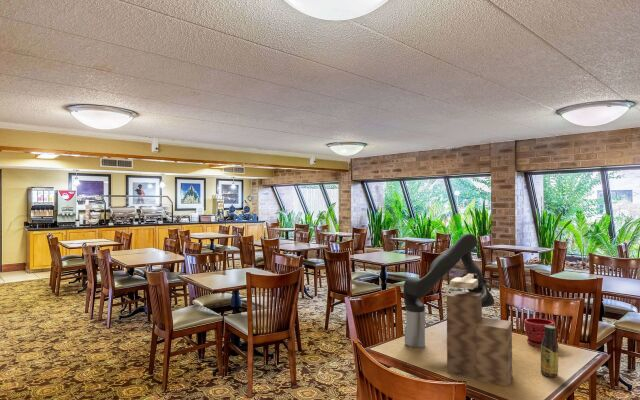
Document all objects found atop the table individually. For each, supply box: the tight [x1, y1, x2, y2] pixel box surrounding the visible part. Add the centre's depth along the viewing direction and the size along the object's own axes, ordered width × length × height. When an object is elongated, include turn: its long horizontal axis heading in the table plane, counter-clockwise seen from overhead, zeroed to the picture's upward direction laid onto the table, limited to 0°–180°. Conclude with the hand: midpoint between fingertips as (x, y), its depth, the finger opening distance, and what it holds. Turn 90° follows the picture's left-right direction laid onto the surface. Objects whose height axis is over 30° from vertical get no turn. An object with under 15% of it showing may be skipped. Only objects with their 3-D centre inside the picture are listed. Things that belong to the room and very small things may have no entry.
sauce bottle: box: [540, 325, 559, 378], centre depth 159 cm, size 6×6×20 cm
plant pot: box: [523, 317, 555, 348], centre depth 194 cm, size 13×13×12 cm
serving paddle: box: [449, 273, 478, 290], centre depth 168 cm, size 9×22×2 cm, turn 147°
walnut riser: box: [446, 290, 513, 388], centre depth 160 cm, size 23×12×32 cm, turn 57°
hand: (469, 275), depth 172 cm, fingers closed on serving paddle, 3 cm apart
